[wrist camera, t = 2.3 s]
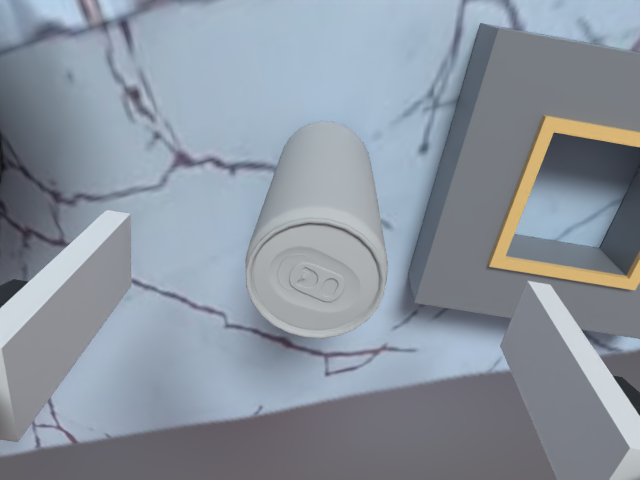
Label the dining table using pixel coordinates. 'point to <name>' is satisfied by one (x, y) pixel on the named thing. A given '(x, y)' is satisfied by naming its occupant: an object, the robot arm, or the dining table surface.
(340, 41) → the dining table surface
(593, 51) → the socket plate
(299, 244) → the beverage can
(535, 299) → the robot arm
